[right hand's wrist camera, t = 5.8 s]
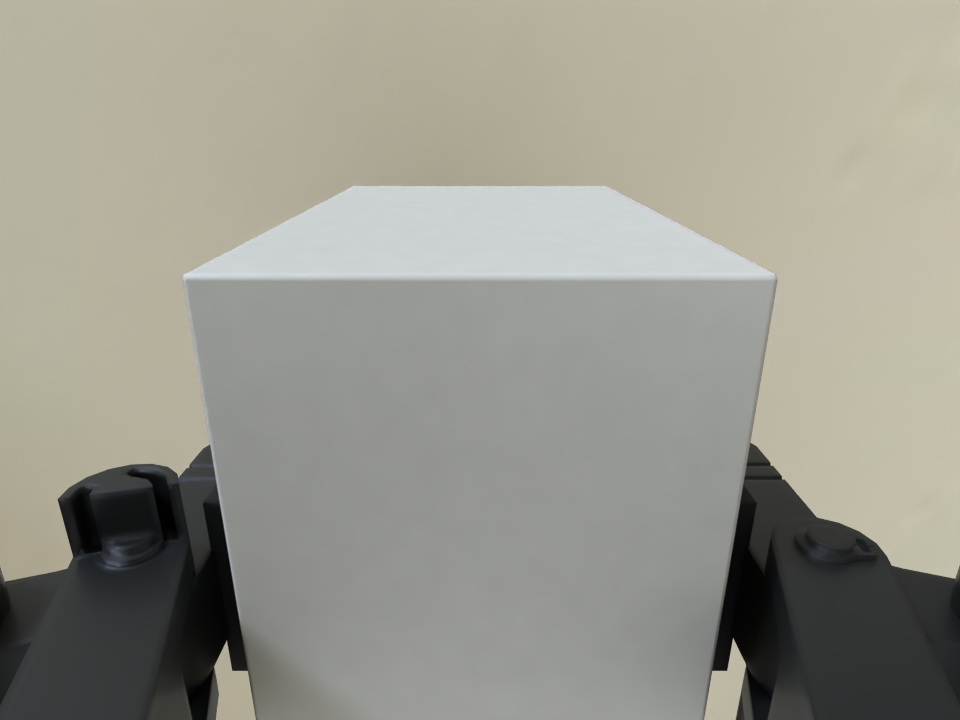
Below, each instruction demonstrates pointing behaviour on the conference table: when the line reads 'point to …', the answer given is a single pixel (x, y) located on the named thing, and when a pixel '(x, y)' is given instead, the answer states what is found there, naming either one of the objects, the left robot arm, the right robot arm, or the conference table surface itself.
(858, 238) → the conference table surface
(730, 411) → the block
